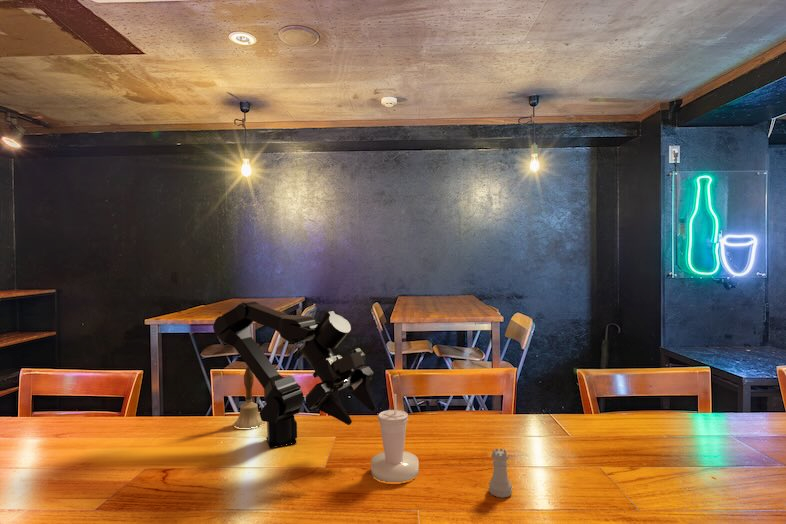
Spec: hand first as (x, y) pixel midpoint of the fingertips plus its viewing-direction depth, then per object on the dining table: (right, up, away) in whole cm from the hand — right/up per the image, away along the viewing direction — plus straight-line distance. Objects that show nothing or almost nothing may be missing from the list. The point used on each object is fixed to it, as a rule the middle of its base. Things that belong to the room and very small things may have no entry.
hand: (363, 416), depth 98 cm
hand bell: (-33, -11, +25) cm, 43 cm away
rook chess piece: (+27, -10, -13) cm, 32 cm away
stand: (+7, -10, -4) cm, 13 cm away
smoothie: (+7, -8, -4) cm, 11 cm away
